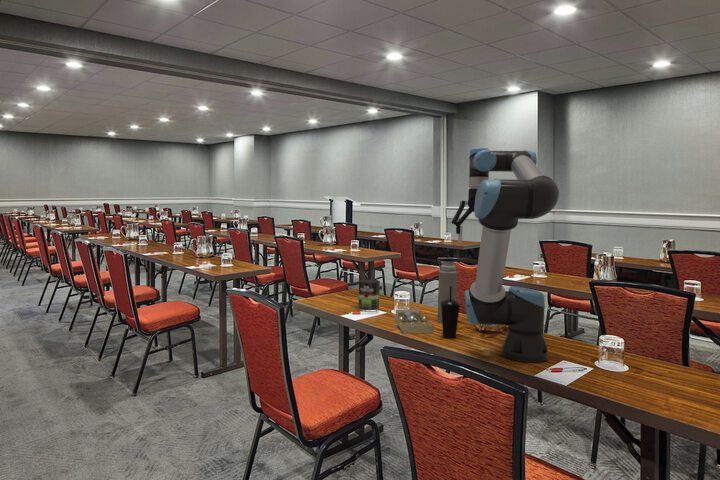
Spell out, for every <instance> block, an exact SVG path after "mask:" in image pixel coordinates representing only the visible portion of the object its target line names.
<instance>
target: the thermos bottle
mask: <svg viewBox="0 0 720 480" xmlns="http://www.w3.org/2000/svg"><path fill="white" fill-rule="evenodd" d="M439 269H440V270H438V286H437V291H438V293H437V295H438V296H437V298H438V299H437V322H438V323H439V324H442V309H441V303H440V302H441V301H444V300H447V299H450V286H452V295H451V299H453V300H456V301H458V300H457V298H458V297H457V296H458V295H457V294H458V271H456V270H457V267H456V265H455V258H448V257H446V258H442V265H440V267H439Z"/></svg>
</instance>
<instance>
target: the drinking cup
mask: <svg viewBox="0 0 720 480" xmlns="http://www.w3.org/2000/svg"><path fill="white" fill-rule="evenodd" d="M451 295H452V286H450V299H447V300H444V301H441V302H440V303H441V309H442V323H441V325H442V337H443V338H445V339H448V340H449V339H456V337H457V329H458V322H459V313H460V305H461V302H460V301H459V300H457V301H456V300H453V299H451Z"/></svg>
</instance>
